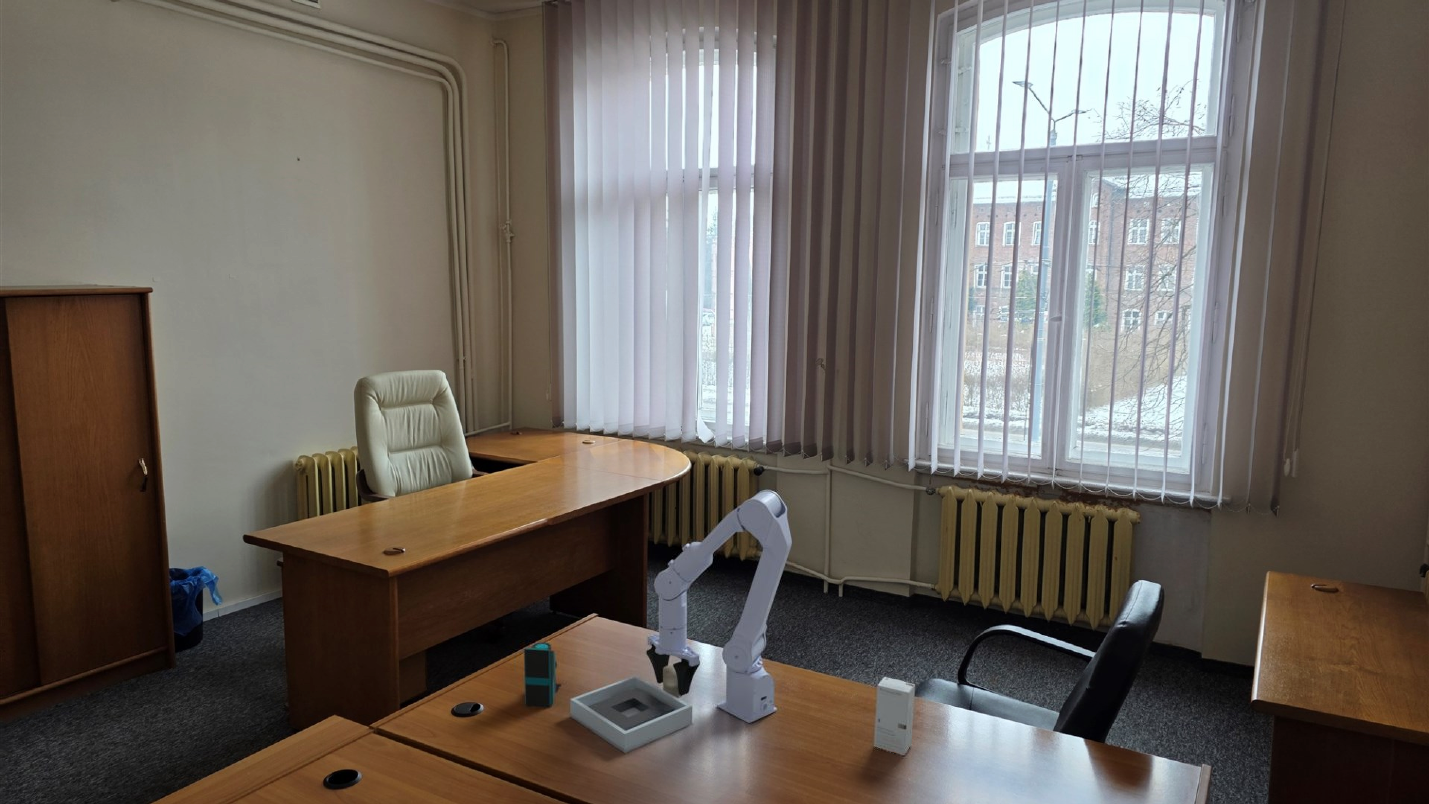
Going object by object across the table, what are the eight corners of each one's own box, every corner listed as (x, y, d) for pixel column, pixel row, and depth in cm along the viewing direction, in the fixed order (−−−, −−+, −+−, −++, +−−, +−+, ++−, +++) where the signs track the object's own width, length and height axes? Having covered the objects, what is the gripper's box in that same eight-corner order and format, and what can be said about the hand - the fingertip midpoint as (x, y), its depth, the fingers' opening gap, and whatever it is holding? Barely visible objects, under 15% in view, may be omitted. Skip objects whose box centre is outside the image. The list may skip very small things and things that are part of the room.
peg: (686, 694, 173) (686, 669, 172) (671, 700, 170) (671, 675, 170) (674, 688, 176) (674, 663, 175) (659, 694, 173) (659, 668, 173)
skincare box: (873, 748, 152) (874, 685, 151) (880, 737, 156) (882, 675, 155) (906, 757, 149) (908, 693, 148) (913, 746, 153) (915, 683, 152)
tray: (692, 723, 161) (692, 706, 160) (624, 753, 150) (624, 734, 150) (636, 691, 174) (635, 675, 174) (570, 716, 163) (570, 699, 163)
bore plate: (674, 718, 162) (674, 708, 161) (624, 739, 154) (623, 729, 153) (637, 696, 170) (636, 687, 170) (587, 715, 162) (587, 706, 162)
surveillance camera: (565, 631, 175) (550, 650, 165) (566, 685, 177) (551, 708, 167) (539, 629, 176) (522, 649, 166) (540, 684, 177) (524, 706, 168)
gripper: (635, 619, 174) (636, 681, 176) (680, 640, 163) (680, 706, 165) (662, 611, 179) (662, 672, 180) (707, 631, 168) (707, 695, 170)
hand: (672, 687), depth 173 cm, fingers open, 7 cm apart
